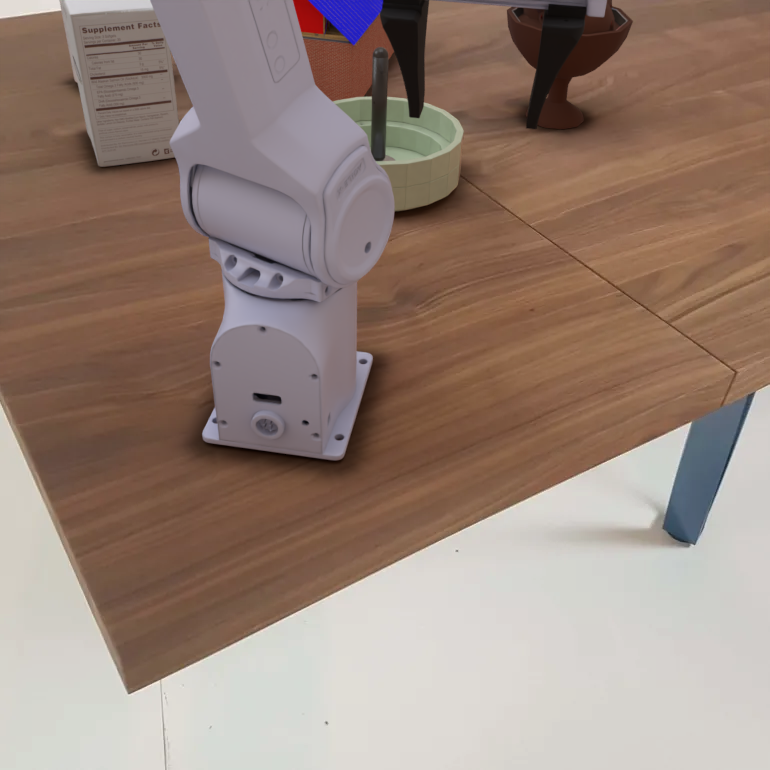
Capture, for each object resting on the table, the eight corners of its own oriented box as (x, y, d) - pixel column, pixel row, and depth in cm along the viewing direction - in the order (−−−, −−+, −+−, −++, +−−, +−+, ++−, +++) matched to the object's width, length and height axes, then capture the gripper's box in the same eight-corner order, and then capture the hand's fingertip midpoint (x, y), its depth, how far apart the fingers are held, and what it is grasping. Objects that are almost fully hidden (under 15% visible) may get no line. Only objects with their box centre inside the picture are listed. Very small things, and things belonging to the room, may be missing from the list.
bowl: (449, 226, 70) (453, 172, 68) (282, 208, 72) (279, 154, 69) (466, 153, 80) (470, 104, 78) (319, 139, 82) (319, 90, 79)
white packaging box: (86, 134, 81) (57, -15, 74) (169, 124, 84) (150, -22, 76) (96, 169, 76) (67, 13, 68) (185, 158, 78) (166, 4, 70)
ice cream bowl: (613, 146, 82) (647, -31, 73) (489, 133, 84) (507, -42, 75) (614, 102, 91) (645, -62, 81) (501, 91, 92) (519, -72, 83)
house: (233, 102, 88) (222, -27, 81) (296, 36, 103) (292, -77, 96) (353, 116, 86) (354, -14, 79) (400, 47, 101) (404, -68, 94)
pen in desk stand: (392, 187, 74) (397, 55, 67) (356, 183, 74) (357, 52, 67) (398, 171, 76) (403, 42, 69) (363, 167, 76) (364, 39, 70)
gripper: (621, -118, 54) (584, 104, 63) (381, -133, 56) (376, 85, 65) (625, -92, 49) (584, 147, 57) (359, -110, 51) (357, 125, 59)
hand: (473, 117), depth 61 cm, fingers open, 7 cm apart
